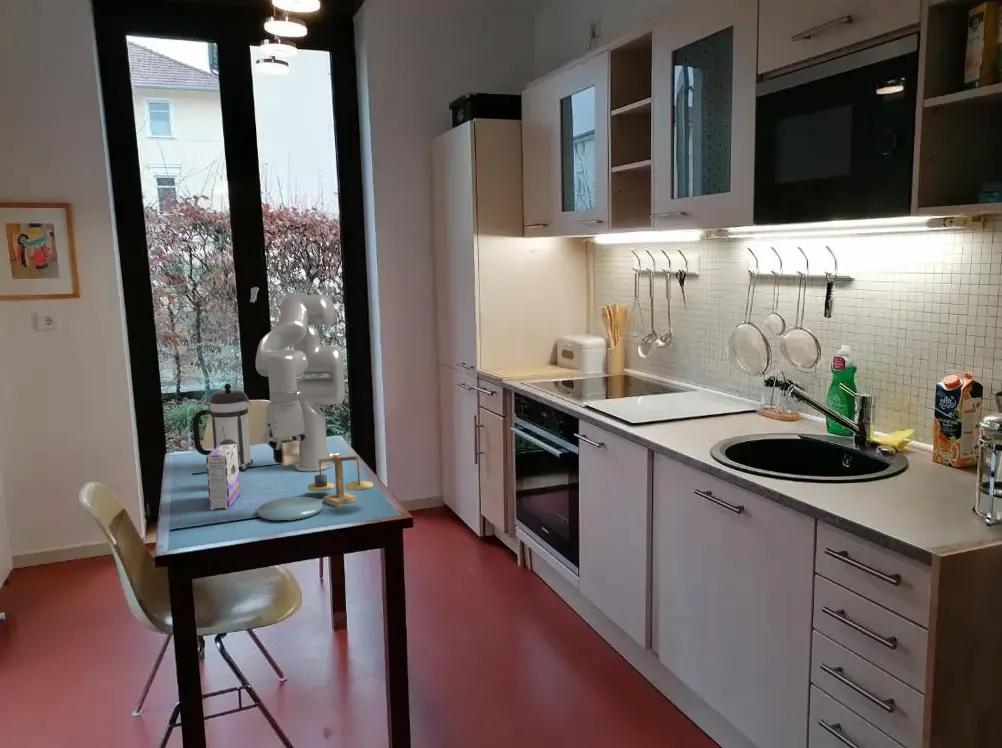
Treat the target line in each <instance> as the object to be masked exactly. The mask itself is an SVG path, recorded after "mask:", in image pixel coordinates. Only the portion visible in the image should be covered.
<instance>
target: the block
mask: <svg viewBox="0 0 1002 748" xmlns="http://www.w3.org/2000/svg"><path fill="white" fill-rule="evenodd" d="M280 449H282V463H277V462H275V461H274V462H275V463H276V464H279V465H282V466H288V465H292V464H297V463H299V462H300V449H299V441H296V440H292V438H285V439H282V440H281V445H280Z"/></svg>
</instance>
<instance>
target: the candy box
mask: <svg viewBox="0 0 1002 748" xmlns="http://www.w3.org/2000/svg"><path fill="white" fill-rule="evenodd" d="M212 450H213V451H212V452H210V453H209V454H208V455H205V458H206V460H205V461H206V474H207V475H206V476H207V485H208V486H207V487H208V499H209V500H208V501H209V510H210V511H212V510H213V511H214V510H216V511H217V510H218V511H219V510H221V511H222V510H224V511H225V510H227V511H228V510H230V509H231V508H232V506H233V505H235V503H236V502H237V500H238V499H239V497H240V496H241V494H242V493H241V481H240V468H239V466H238V453H237V444H229V445H218V446H217V447H216V448H215V449H214V448H213V449H212Z"/></svg>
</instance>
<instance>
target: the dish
mask: <svg viewBox="0 0 1002 748" xmlns="http://www.w3.org/2000/svg"><path fill="white" fill-rule="evenodd" d="M323 507H324V505H323V502H322V500H320V499H317V498H313V497H305V496H295V497H294V496H293V497H284V498H278V499H275V500H274V499H273V500H271V501H267V502H266V503H263V504H261V505H260V506H259V507H258V508H257V515H258V516H259V517H260V518H262V519H265V520H270V521H277V520H288V521H295V520H296V519H297V520H300V519H301V518H302V519H305V517H306V518H308V517H311V516H315V515H316V514H318V513H320V512H321V511H322V510H323Z"/></svg>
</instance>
